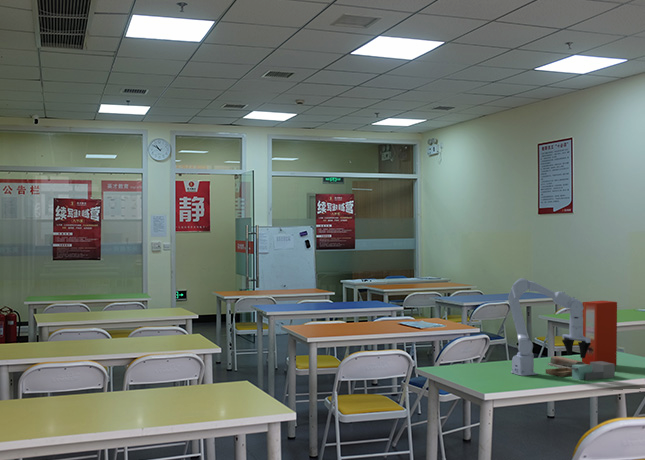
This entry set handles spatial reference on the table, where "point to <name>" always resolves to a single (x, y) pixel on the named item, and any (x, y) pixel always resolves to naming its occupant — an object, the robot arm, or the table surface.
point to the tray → (560, 372)
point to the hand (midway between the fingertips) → (576, 356)
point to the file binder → (600, 331)
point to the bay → (601, 370)
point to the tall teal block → (580, 371)
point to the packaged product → (563, 362)
